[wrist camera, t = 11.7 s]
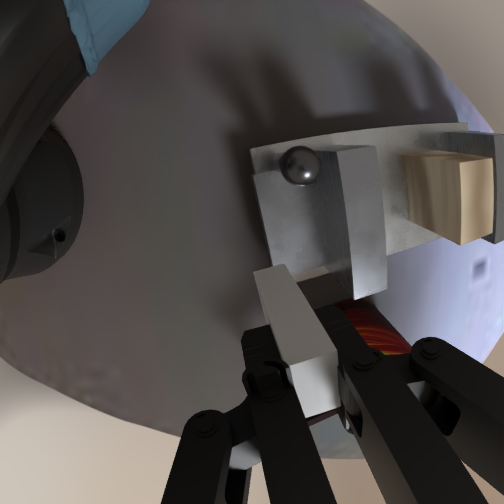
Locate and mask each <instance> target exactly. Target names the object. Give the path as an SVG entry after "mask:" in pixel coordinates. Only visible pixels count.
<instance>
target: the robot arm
mask: <svg viewBox="0 0 504 504" xmlns="http://www.w3.org/2000/svg"><path fill="white" fill-rule="evenodd" d="M149 3H150V0H0V284H1V283H2V282H3V281H4V280H7V279H12V278H17V277H23V276H28V275H33V274H37V273H39V272H42V271H44V270H46V269H47V268H49V267H50V266H52V265H53V264H54V263H55V262H57V261H58V260H59V259H60V258H61V257H62V256H63V255H64V254H65V253H66V252H67V251H68V250H69V248H70V247H71V245H72V244H73V242H74V240H75V238H76V236H77V233H78V231H79V228H80V224H81V220H82V214H83V204H84V194H83V184H82V178H81V174H80V170H79V167H78V164H77V161H76V159H75V157H74V155H73V153H72V151H71V150H70V148H69V146H68V145H67V144H66V142H65V141H64V140H63V139H62V138H61V137H60V136H59V135H58V134H57V133H55V132H54V131H52V130H51V129H49V128H47V127H48V126H49V124H50V123H51V121H52V120H53V119H54V117H55V116H56V114H57V113H58V112H59V110H60V109H61V108H62V106H63V105H64V104H65V102H66V101H67V100H68V99H69V97H70V96H71V95H72V93H73V92H74V91H75V90H76V89H77V87H78V86H79V85H80V84H81V83H82V81H83V80H84V79H85V78H86V77H87V76H89V77H91V76H92V75H93V74H94V73H95V72H96V71H97V69H98V63H99V62H100V61H101V60H102V59H103V57H104V56H105V55H106V54H107V53H108V52H109V51H110V49H111V48H112V47H113V46H114V45H115V44H116V43H117V42H118V41H119V40H120V39H121V38H122V37H123V36H124V35H125V34H126V33H127V32H128V31H129V30H130V29H131V28H132V27H133V26H134V25H135V24H136V23H137V22H138V21H139V19H140V18H141V17H142V16H143V14H144V13H145V11H146V9H147V7H148V5H149ZM253 274H254V278H255V281H256V285H257V289H258V293H259V297H260V301H261V305H262V309H263V312H264V316H265V320H266V323H267V325H265V326H261V327H258V328H254V329H250V330H246V331H244V334H243V336H242V339H241V344H242V350H243V356H244V361H245V367H246V369H245V371H244V373H243V376H242V382H243V384H244V387H245V390H246V392H247V395H248V396H247V397H246V399H245V400H244V401H243V402H242V403H241V404H240V405H239V406H237V407H235V408H234V409H232V410H230V411H228V412H226V413H224V414H223V413H222V412H220V411H217V410H204V411H201V412H199V413H196V414H194V415H193V416H192V417H191V418H190V419H189V420H188V421H187V423H186V425H185V426H184V430H183V433H182V436H181V440H180V442H179V446H178V449H177V452H176V455H175V458H174V462H173V465H172V468H171V471H170V475H169V478H168V481H167V484H166V488H165V491H164V494H163V498H162V501H161V504H247V502H248V494H249V487H250V479H251V471H252V466H254V465H256V464H258V463H260V462H261V461H262V466H263V471H264V476H265V480H266V485H267V490H268V494H269V498H270V503H271V504H337V502H336V500H335V497H334V494H333V491H332V489H331V486H330V483H329V481H328V478H327V475H326V472H325V470H324V467H323V464H322V461H321V459H320V456H319V453H318V451H317V448H316V445H315V442H314V440H313V437H312V434H311V431H310V429H309V426H308V423H307V420H306V418H307V417H310V416H314V415H317V414H320V413H323V412H326V411H329V410H332V409H334V408H337V407H340V406H341V403H340V398H341V400H342V402H343V404H344V406H345V426H346V430H347V429H349V425H350V427H351V429H352V431H353V434H354V436H355V438H356V440H357V442H358V444H359V446H360V448H361V450H362V453H363V455H364V457H365V459H366V461H367V463H368V465H369V467H370V469H371V472H372V474H373V476H374V478H375V480H376V482H377V484H378V486H379V489H380V491H381V493H382V495H383V497H384V499H385V501H386V504H488V502H487V500H486V499H485V497H484V496H483V494H482V493H481V491H480V489H479V488H478V486H477V485H476V483H475V482H474V480H473V478H472V477H471V475H470V474H469V472H468V471H467V469H466V468H465V466H464V465H463V463H462V462H461V460H462V461H463V462H464V463H465V464H467V466H469V467H470V468H471V469H472V470H473V471H475V472H476V473H477V474H478V475H479V476H481V477H482V478H483V479H484V480H486V481H487V482H488V483H489V484H490V485H491V486H493V487H494V488H495V489H496V490H498V491H499V492H500V493H501V494H503V495H504V377H502V376H500V375H499V374H497V373H496V372H494V371H493V370H491V369H489V368H488V367H486V366H484V365H483V364H481V363H480V362H478V361H477V360H475V359H473V358H472V357H470V356H469V355H467V354H465V353H464V352H462V351H460V350H459V349H457V348H456V347H454V346H452V345H451V344H449V343H447V342H446V341H444V340H442V339H439V338H436V337H426V338H422V339H420V340H418V341H416V342H415V343H414V345H413V346H412V349H411V352H409V353H404V354H397V355H385V354H383V353H382V352H381V351H380V350H378V349H375V348H370V347H369V346H368V344H367V343H366V342H365V340H364V339H363V338H362V336H361V335H360V334H359V332H358V331H357V330H356V328H355V327H354V326H353V325H352V323H351V322H350V320H349V319H347V316H346V315H345V314H344V312H343V311H342V310H341V309H339V308H337V307H335V306H333V305H329V306H326V307H323V308H319V309H316V310H313V309H312V308H311V306H310V305H309V303H308V301H307V300H306V298H305V296H304V295H303V293H302V291H301V290H300V288H299V287H298V285H297V283H296V282H295V280H294V279H293V277H292V275H291V274H290V272H289V270H288V269H287V267H286V266H285V264H284V263H283V264H280V265H276V266H273V267H269V268H265V269H262V270H258V271H254V272H253Z"/></svg>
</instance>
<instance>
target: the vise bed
mask: <svg viewBox="0 0 504 504" xmlns="http://www.w3.org/2000/svg"><path fill="white" fill-rule="evenodd" d="M330 145H371V146H376V151H377V158H378V164H379V172H380V180H381V188H382V197H383V208H384V220H385V234H386V253H387V255H390V254H393V253H396V252H399V251H403V250H406V249H409V248H412V247H415V246H418V245H421V244H424V243H427V242H430V241H433V240H436V239H439V238H442V236H440V235H438V234H436V233H434V232H432V231H430V230H428V229H425V228H423V227H421V226H419V225H417V224H415V223H412V222H410V215H409V199H408V187H407V176H406V167H405V159H404V155H407V154H415V153H422V152H430V151H447V152H455V153H462V154H469V155H476V156H482V157H488V158H492V160H493V184H494V206H493V230H492V233H491V234H488V235H486V236H483V237H481V238H482V239H484V240H486V241H489V242H491V243H493V244H497V243H499V242H501V241H503V240H504V134H496V133H485V132H478V131H468V124H467V123H464V122H455V123H429V124H413V125H400V126H389V127H379V128H370V129H361V130H353V131H346V132H338V133H332V134H325V135H319V136H313V137H307V138H301V139H295V140H290V141H285V142H280V143H274V144H270V145H265V146H260V147H255V148H251V149H248V151H249V155H250V160H251V164H252V168H253V173H254V172H258V171H263V170H267V169H272V168H274V166H273V159H274V157H275V155H277V154H278V153H281V152H286V151H287V150H288V149H290V148H292V147H294V146H306V147H309V148H311V149H313V148H318V147H324V146H330ZM328 273H330V272H329V271H328V270H327V269H326V268H325V267H324V266H321V267H318V268H314V269H311V270H307V271H304V272H300V273H296V274H293V275H292V277H293V279H294V280H295V282H300V281H303V280H307V279H310V278H314V277H317V276H321V275H324V274H328Z"/></svg>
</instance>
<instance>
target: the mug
mask: <svg viewBox="0 0 504 504" xmlns="http://www.w3.org/2000/svg"><path fill="white" fill-rule="evenodd" d="M333 306H335V307H337V308H339V309H341V310H342V311H343V312H344V314H345V315H346V316H347V319H349V320H350V322H351V323H352V325H353V326H354V327H355V328H356V330H357V331H358V332H359V334H360V335H361V336H362V338H363V339H364V340H365V342H366V343H367V344H368V346H369V347H370V348H375V349H378V350H380V351H381V352H382V353H383V354H385V355H397V354H404V353H409V352H411V349H412V346H411V345H410V344H409V343H408V342H407V341H406V340H405V339H404V338H403V337H402V335H401V334H400V333H399V332H398V331H397V330H396V329H395V328H394V327H393V326H392V325H391V323H390V322H389V321H388V320H387V319H386V318H385V317H384V316H383V315H382V314H381V313H380V312H379V311H378V309H377V308H376V307H375V306H374V305H373V304H371V303H370V302H368V301H366V300H363V299H356V300H354V299H347V300H344V301H340V302H338V303H336V304H334V305H333ZM340 403H341V406H340V407H337V408H334V409H332V410H329V411H326V412H323V413H320V414H317V415H314V416H310V417H307V418H306V420H307V423H308V426H311V425H313V424H315V423H318V422H320V421H322V420H324V419H327V418H329V417H331V416H333V415H335V414H337V413H338V415H339V417H340V419H341V421H342V424H343V426H344V428H345V429H346V426H345V406H344V404H343V402H342V400H341V398H340ZM346 431H347V432H349V433H351V434H353V431H352V429H351V427H350V425H349V429H347V430H346Z"/></svg>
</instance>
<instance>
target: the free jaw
mask: <svg viewBox="0 0 504 504" xmlns="http://www.w3.org/2000/svg"><path fill="white" fill-rule="evenodd" d="M273 166H274V168H272V169H267V170H263V171H258V172H254V173H250V176H251V181H252V185H253V190H254V194H255V198H256V203H257V207H258V212H259V216H260V220H261V225H262V229H263V234H264V238H265V243H266V247H267V252H268V256H269V261H270V266H271V267H273V266H276V265H280V264H283V263H284V264H285V266H286V267H287V269H288V270H289V272H290V274H291V275H293V274H296V273H300V272H304V271H307V270H311V269H314V268H318V267H321V266H324V267H325V268H326V269H327V270H328V271H329V272H330V273H331V275H332V276H333V277H334V278H335V279H336V280H337V281H338V282H339V283H340V285H341V286H342V287H343V288H344V289H345V290H346V291H347V292H348V294H349V295H350V296H351V297H352V298H353V299H354V300H356V299H359V298H362V297H365V296H368V295H371V294H374V293H377V292H380V291H382V290H385V289H387V253H386V234H385V220H384V208H383V197H382V188H381V180H380V172H379V164H378V158H377V151H376V146H371V145H330V146H324V147H318V148H313V149H311V148H309V147H306V146H294V147H292V148H290V149H288V150H287V151H286V152H281V153H278V154H277V155H275V157H274V159H273Z"/></svg>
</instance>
